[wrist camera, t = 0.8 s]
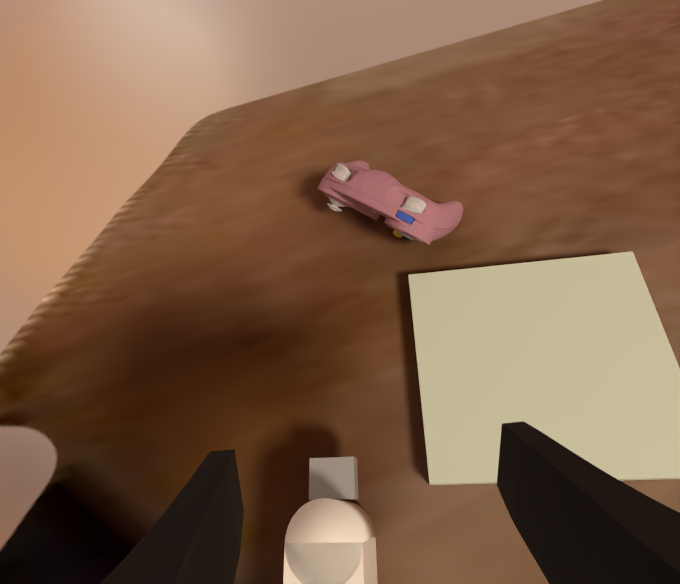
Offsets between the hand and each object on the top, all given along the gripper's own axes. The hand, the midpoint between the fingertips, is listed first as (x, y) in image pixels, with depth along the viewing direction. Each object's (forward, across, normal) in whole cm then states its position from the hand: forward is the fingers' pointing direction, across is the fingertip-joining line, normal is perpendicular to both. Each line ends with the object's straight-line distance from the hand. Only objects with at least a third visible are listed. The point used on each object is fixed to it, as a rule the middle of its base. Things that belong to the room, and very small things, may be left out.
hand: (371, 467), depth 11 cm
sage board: (+13, -12, +5) cm, 18 cm away
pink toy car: (+23, -5, -3) cm, 24 cm away
